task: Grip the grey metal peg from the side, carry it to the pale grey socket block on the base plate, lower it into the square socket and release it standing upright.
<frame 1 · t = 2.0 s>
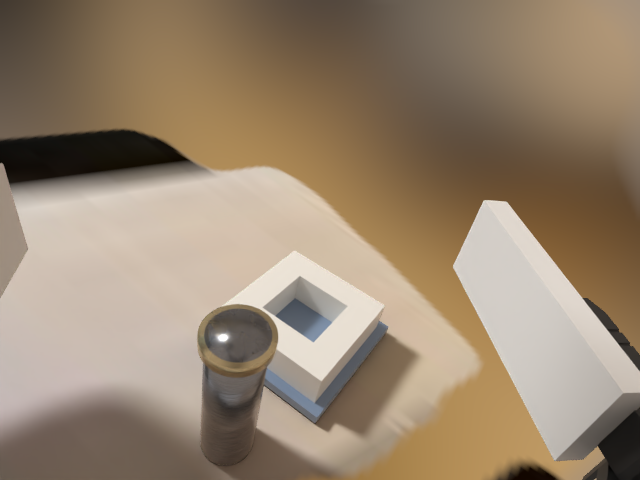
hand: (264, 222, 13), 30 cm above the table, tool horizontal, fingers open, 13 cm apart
socket block: (299, 335, 48), on the table
grey metal peg: (227, 438, 38), on the table
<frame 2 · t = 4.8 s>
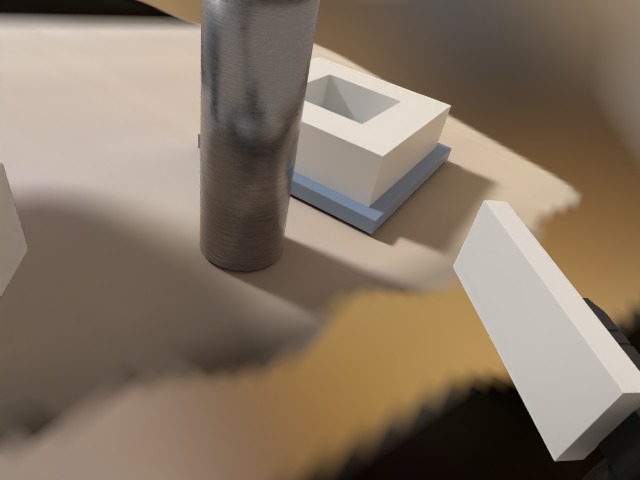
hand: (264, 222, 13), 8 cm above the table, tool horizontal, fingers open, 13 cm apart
socket block: (332, 153, 35), on the table
grey metal peg: (241, 243, 25), on the table
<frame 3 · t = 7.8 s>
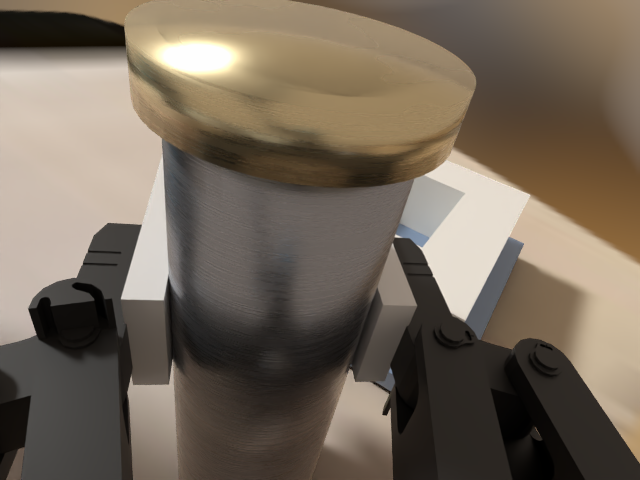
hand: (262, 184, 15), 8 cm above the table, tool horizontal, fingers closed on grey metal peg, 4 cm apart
socket block: (368, 258, 25), on the table
grey metal peg: (246, 468, 15), on the table, touching gripper
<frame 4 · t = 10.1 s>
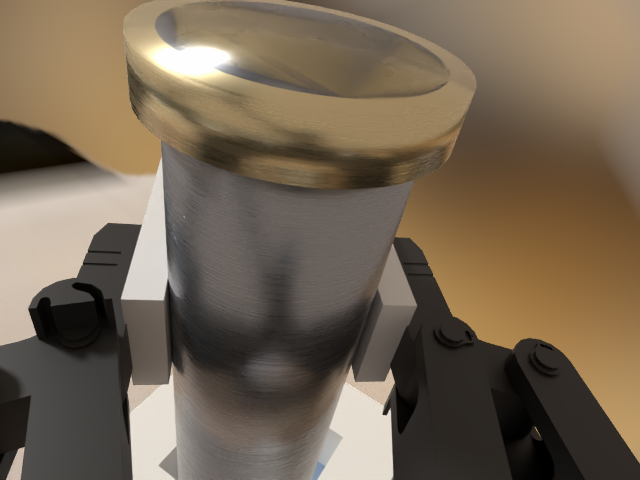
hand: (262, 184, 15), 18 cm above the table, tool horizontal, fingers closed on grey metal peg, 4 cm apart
grey metal peg: (245, 469, 15), point 10 cm above the table, touching gripper
when the fingers open (10 cm above the table, at t = 12.5 s): grey metal peg drops 1 cm, resting on socket block.
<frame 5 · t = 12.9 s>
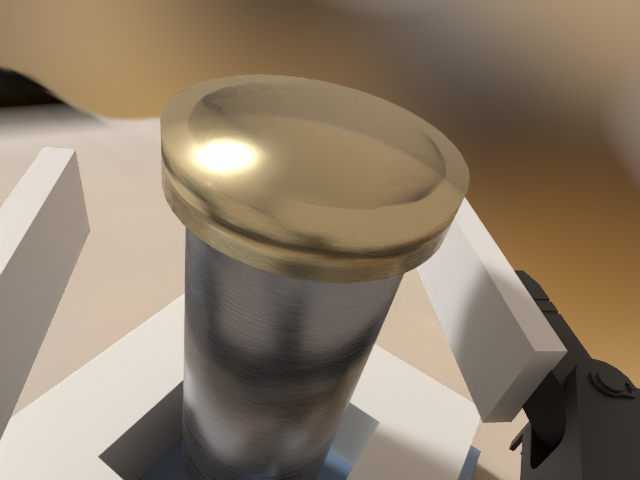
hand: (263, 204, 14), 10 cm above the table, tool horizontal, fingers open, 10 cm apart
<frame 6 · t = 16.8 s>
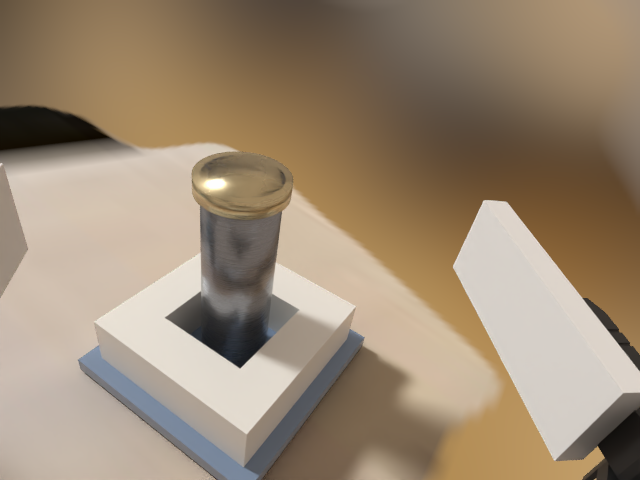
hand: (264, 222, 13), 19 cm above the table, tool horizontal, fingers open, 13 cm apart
socket block: (232, 356, 33), on the table
grey metal peg: (233, 348, 32), point 1 cm above the table, touching socket block
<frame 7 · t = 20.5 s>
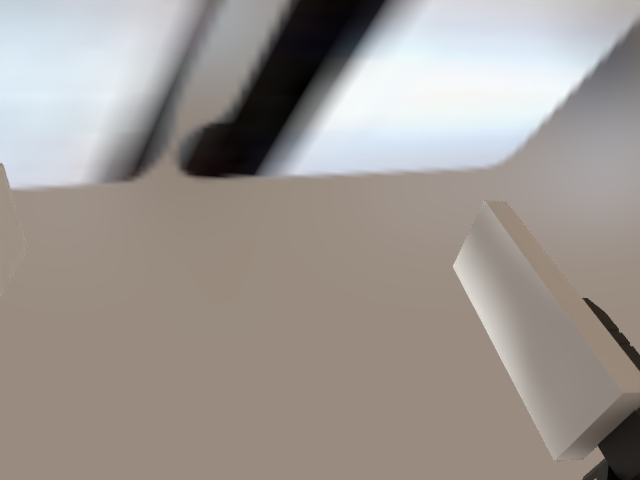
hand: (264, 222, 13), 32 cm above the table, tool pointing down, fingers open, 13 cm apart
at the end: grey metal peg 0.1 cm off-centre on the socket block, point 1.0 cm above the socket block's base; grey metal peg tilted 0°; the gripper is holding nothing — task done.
